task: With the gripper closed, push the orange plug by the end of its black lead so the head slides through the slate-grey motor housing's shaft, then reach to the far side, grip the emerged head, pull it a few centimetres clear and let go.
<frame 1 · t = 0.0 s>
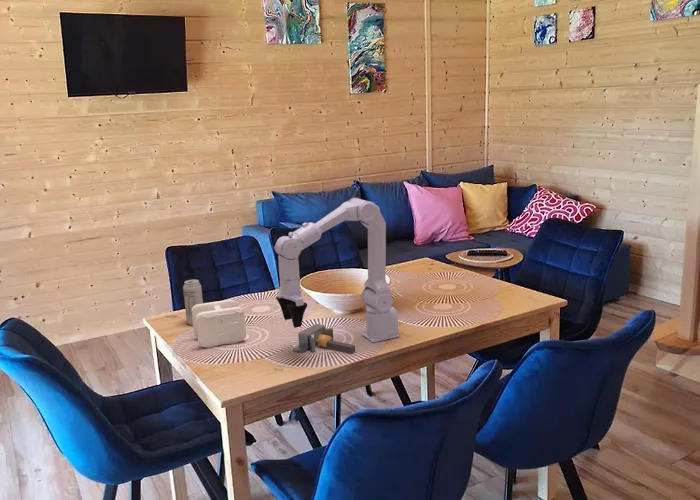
hand: (292, 322, 190), 10 cm above the table, fingers open, 7 cm apart
cable organizer: (220, 341, 207), on the table
housing: (312, 343, 200), on the table
energy drink can: (196, 323, 224), on the table
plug: (324, 346, 198), on the table
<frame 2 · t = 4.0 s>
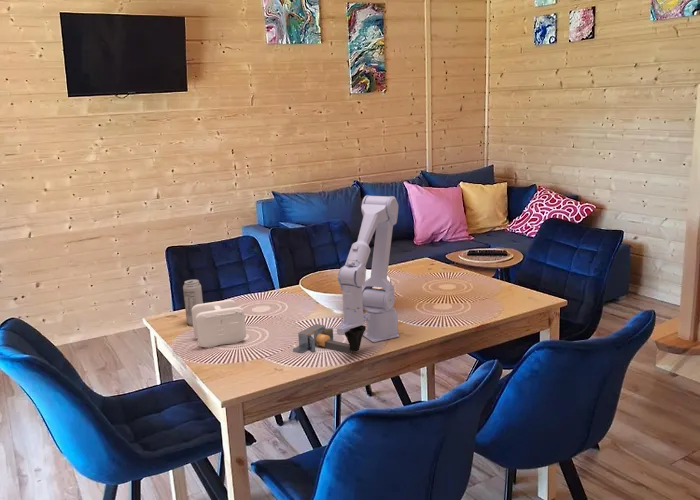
hand: (355, 350, 192), 1 cm above the table, fingers closed, pressing on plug
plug: (323, 345, 198), on the table, touching gripper
everything else where it was.
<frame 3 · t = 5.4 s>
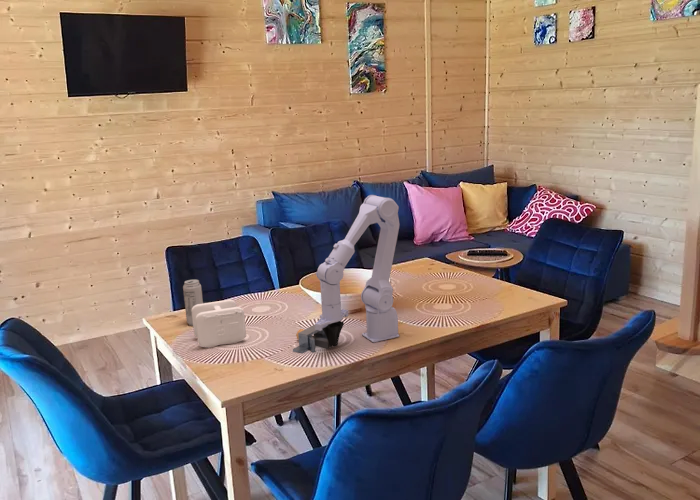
hand: (333, 345, 196), 1 cm above the table, fingers closed, pressing on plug
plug: (304, 340, 203), on the table, touching gripper
everything else where it was.
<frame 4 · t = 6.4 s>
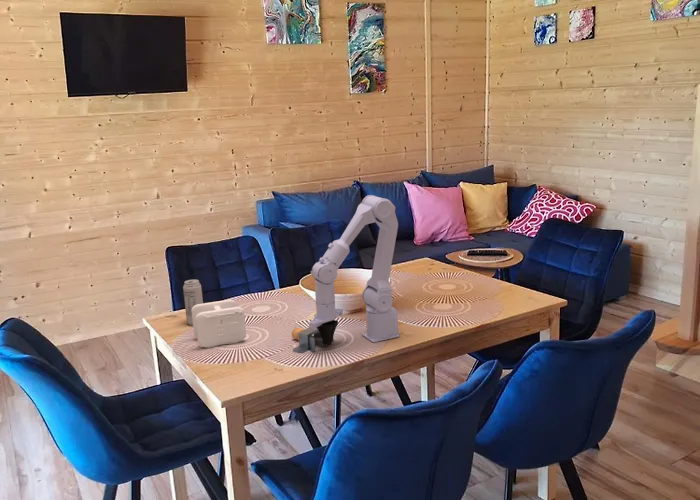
hand: (327, 344, 197), 1 cm above the table, fingers closed
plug: (299, 339, 205), on the table, touching gripper
everything else where it was.
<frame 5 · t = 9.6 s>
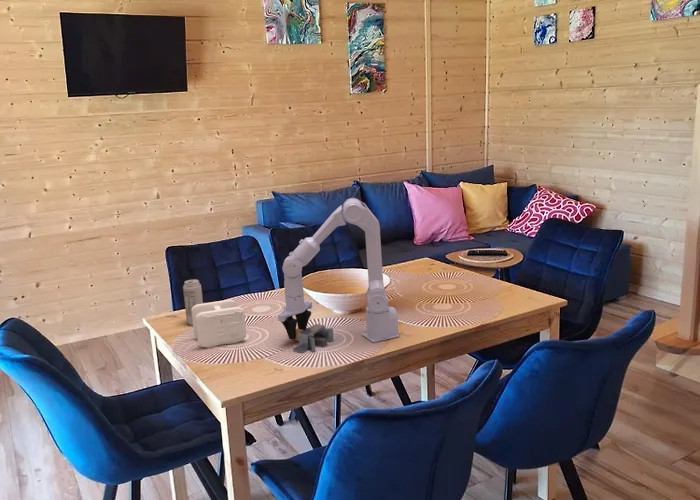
hand: (297, 336, 203), 1 cm above the table, fingers open, 4 cm apart
nothing on the table moved.
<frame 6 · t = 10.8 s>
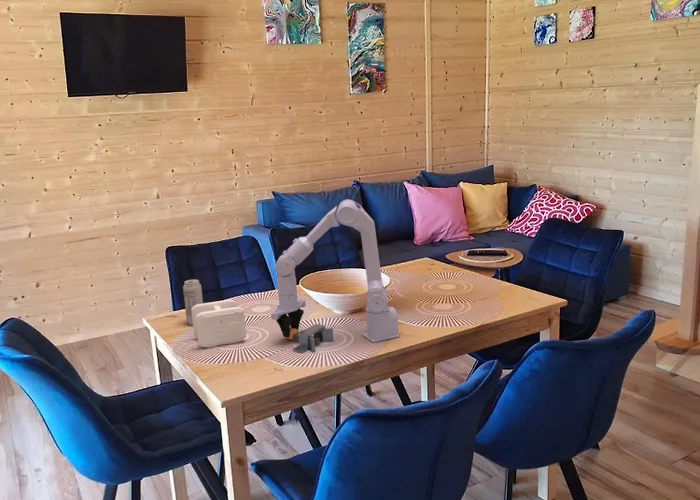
hand: (290, 334, 205), 2 cm above the table, fingers closed on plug, 4 cm apart
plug: (291, 339, 205), on the table, touching gripper
everything else where it was.
when the fingers open (2 cm above the table, at t = 11.8 s): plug stays where it is, on the table.
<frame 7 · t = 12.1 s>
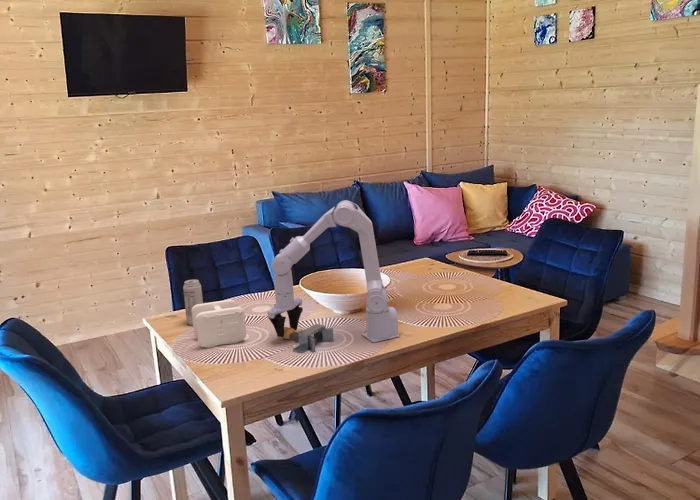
hand: (287, 333, 206), 2 cm above the table, fingers open, 6 cm apart
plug: (288, 338, 206), on the table
everything else where it was.
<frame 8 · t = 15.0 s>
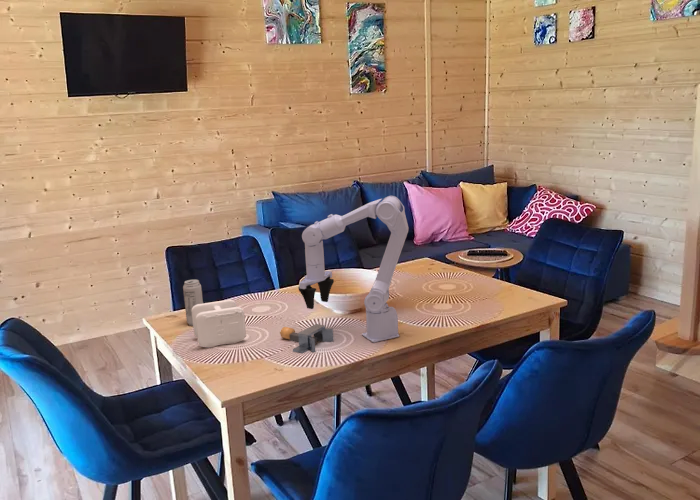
hand: (317, 304, 206), 10 cm above the table, fingers open, 7 cm apart
nothing on the table moved.
at the end: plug 1.6 cm from the target spot, on the table; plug moved 14.3 cm from its start; the gripper is holding nothing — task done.
